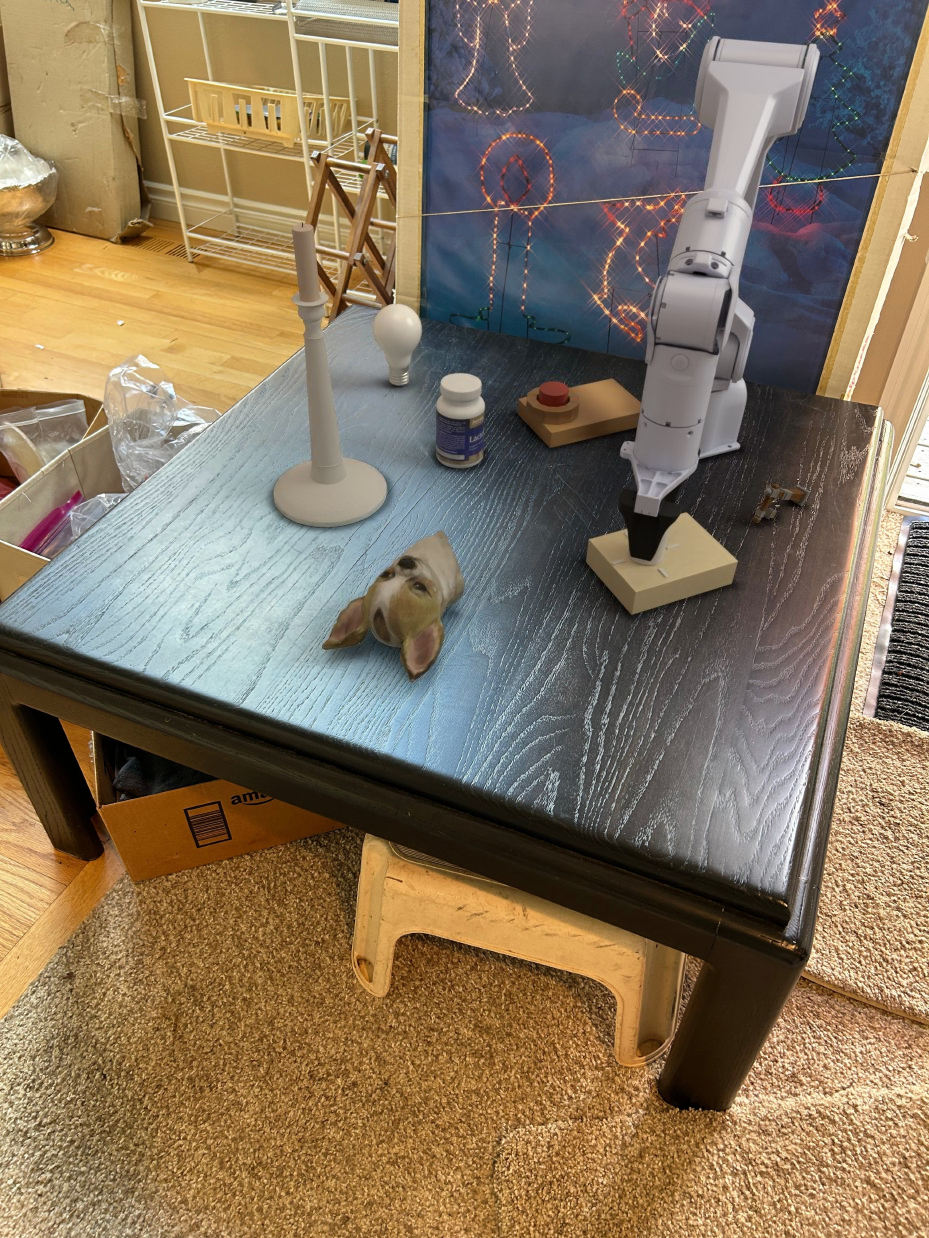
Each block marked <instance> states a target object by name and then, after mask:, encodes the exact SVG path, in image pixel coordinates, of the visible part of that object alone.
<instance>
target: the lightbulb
mask: <svg viewBox="0 0 929 1238" xmlns="http://www.w3.org/2000/svg"><path fill="white" fill-rule="evenodd" d="M372 335H373V338H374V341H375V343H376V344H377V346H378V347H379V348H380V350H381V351H382V353H383V354H384V358H385V361H386V363H387V365H388V374H389V375H388V376H389V378H388V379H389V383H390V384H391V385H394V386H396V387H402V386H405V385H406V384H408V383H409V382H410V363H411V361H412V357H413V356H412V355H413V354H414V353H413V352H414V351H415V350H416V348H417V346H418V345H419V343H420V341H421V339H422V335H423V325H422V322H421V318H420V316H419V315H418V313H417V312H416V311H415V310H414V309H412V308H411V306H409V305H406V304H403V303H391V304H387V305H386V306H383V307H382V308H381V309H380V310H379V311H378V312H377V314H376V315H375V317H374V320H373V323H372Z"/></svg>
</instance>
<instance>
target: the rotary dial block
mask: <svg viewBox="0 0 929 1238" xmlns="http://www.w3.org/2000/svg"><path fill="white" fill-rule="evenodd" d="M628 548H629V543H628V532H627V528H625V529H621V530H618V531H614V532H610V533H607V534H603V535H600V536H596V537H593V538H589V539H588V543H587V552H586V557H585V558H586V560H585V562H586V564H587V565H588V566H589V568H591V570H592V571H593V572H594V573H595V574H596V576H597V577H598V578H599V579H600V580H601V581H602V582H603V584H604V585H605V586H606V587H607V588H608V589H609V590H610V592H611V593H612V594H613V595H614V596H615V597H616V599H617V600H618V601H619V602H620V603H621V604H622V606H623V607H624V608H625V609H626V610H627V612H628V614H630V615H631V616H632V615H636V614H639V613H642V612H645V611H649V610H653V609H655V608H658V607H660V606H665V605H668V604H671V603H674V602H678V601H680V600H684V599H688V598H691V597H693V596H697V595H700V594H703V593H707V592H710V591H712V590H717V589H719V588H723V587H725V586H729V585H732V584H733V580H734V578H735V573H736V571H737V566H738V563H739V560H738V559H737V558H735V556H734V555H732V553H730V551H728V550H727V549H726V548H725V547H724V546H723V545H722V544H721V543H720V542H719V541H718V540H716V539H715V538H714V536H712V535H711V534H710V533H709V532H708V531H707V530H706V529H705V528H704V527H703V526H702V525H701V524H700V523H698V521H696V520H695V519H694V518H693V516H691V515H690V514H689V513H688V512H683V513H682V512H681V513H680V515H679V517H678V519H677V520H676V521H675V522H674V523H673V524H672V525H671V526H670V530H669V535H668V540H667V545H666V550H665V554H664V559H663V560H662V561H661V562H660V563H658V564H656V565H650V566H647V565H641V564H638V563H636V562H634V561H633V560H631V558H630V557H629V555H628Z"/></svg>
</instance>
